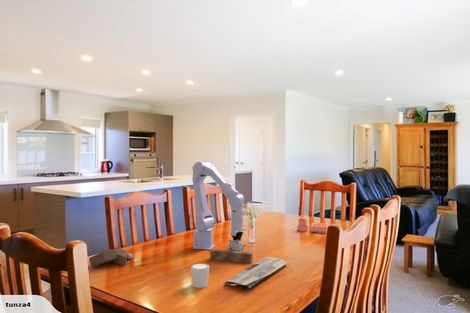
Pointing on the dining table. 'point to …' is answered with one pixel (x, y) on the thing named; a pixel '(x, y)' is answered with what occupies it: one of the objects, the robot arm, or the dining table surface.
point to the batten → (231, 256)
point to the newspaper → (257, 272)
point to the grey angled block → (110, 257)
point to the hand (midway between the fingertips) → (237, 247)
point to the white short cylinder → (200, 275)
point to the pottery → (314, 227)
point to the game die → (235, 246)
